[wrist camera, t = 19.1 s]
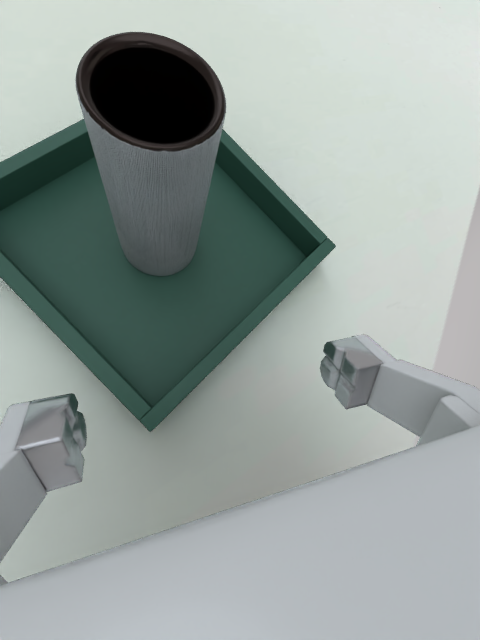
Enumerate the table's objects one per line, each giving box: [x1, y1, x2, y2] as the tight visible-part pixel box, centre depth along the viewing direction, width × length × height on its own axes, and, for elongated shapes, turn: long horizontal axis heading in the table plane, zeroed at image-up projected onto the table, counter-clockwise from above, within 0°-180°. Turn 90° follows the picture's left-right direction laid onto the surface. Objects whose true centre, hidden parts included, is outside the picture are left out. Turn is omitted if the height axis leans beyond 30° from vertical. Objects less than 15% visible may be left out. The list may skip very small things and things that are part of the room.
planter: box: [76, 32, 226, 276], centre depth 14 cm, size 4×4×10 cm
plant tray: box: [0, 119, 336, 432], centre depth 19 cm, size 16×16×2 cm
